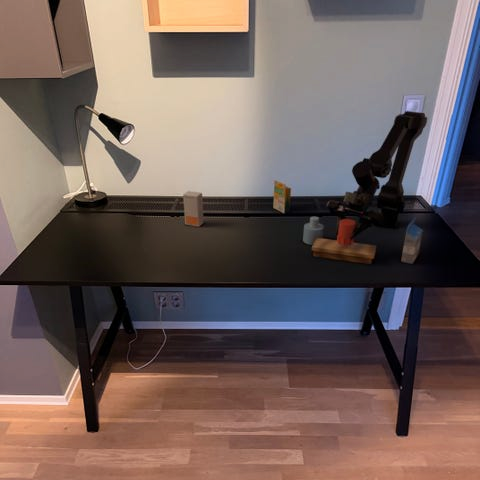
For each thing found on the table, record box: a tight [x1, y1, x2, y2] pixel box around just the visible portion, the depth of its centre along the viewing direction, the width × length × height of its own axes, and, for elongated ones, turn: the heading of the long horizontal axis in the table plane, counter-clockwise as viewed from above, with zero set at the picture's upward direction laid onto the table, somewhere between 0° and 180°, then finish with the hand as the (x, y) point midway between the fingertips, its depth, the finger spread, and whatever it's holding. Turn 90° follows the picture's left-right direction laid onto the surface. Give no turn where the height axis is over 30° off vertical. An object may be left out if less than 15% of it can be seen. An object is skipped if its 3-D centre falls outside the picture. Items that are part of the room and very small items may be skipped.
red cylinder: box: [336, 218, 357, 246], centre depth 147 cm, size 5×5×7 cm
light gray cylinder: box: [302, 216, 325, 246], centre depth 160 cm, size 7×7×8 cm
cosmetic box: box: [182, 190, 205, 228], centre depth 172 cm, size 6×4×12 cm
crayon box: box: [272, 180, 292, 214], centre depth 183 cm, size 7×3×12 cm, turn 34°
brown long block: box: [311, 238, 378, 265], centre depth 151 cm, size 20×8×4 cm, turn 71°
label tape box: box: [400, 216, 424, 265], centre depth 147 cm, size 9×4×12 cm, turn 148°
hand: (343, 236), depth 147 cm, fingers closed on red cylinder, 5 cm apart
